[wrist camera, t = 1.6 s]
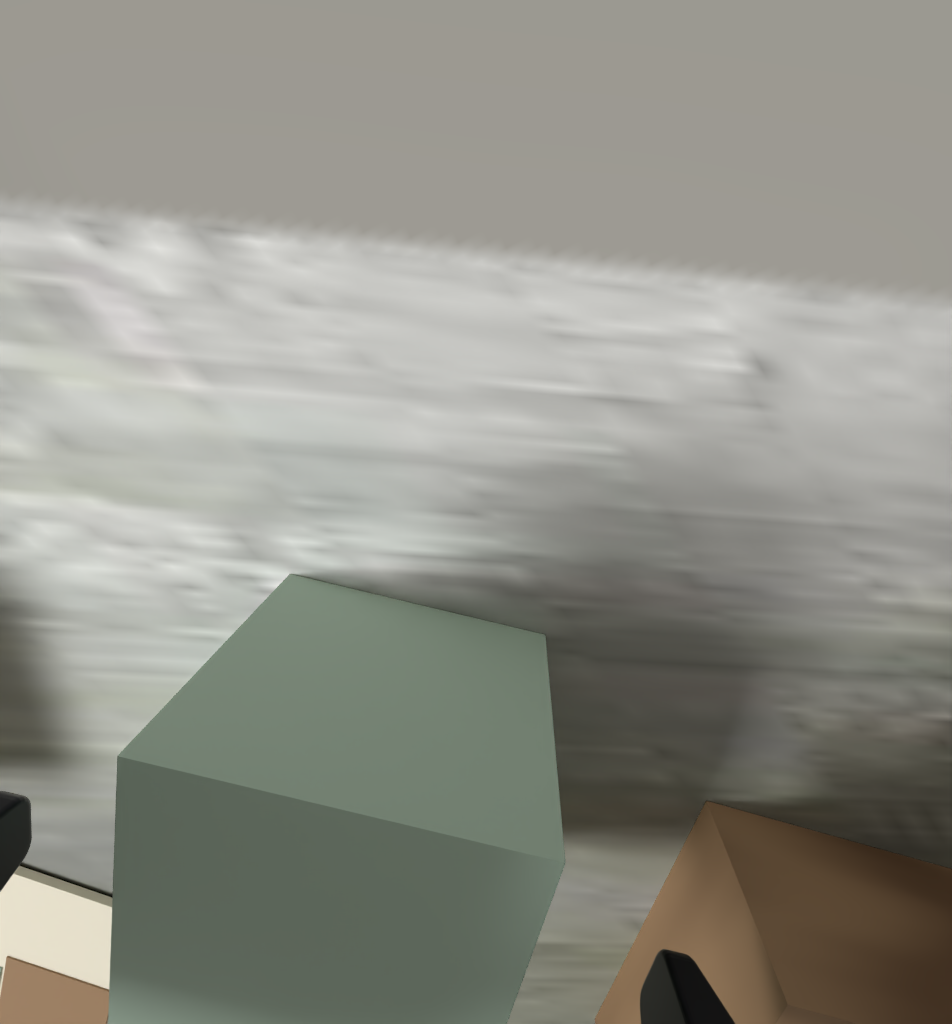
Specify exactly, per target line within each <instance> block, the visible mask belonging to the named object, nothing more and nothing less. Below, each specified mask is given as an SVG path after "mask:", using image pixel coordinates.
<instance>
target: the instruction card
mask: <svg viewBox="0 0 952 1024" xmlns="http://www.w3.org/2000/svg"><path fill="white" fill-rule="evenodd" d="M111 926H112V897H109V896H106V895H103V894H100V893H97V892H94V891H91V890H89V889H86V888H83V887H80V886H77V885H74V884H71V883H68V882H65V881H62V880H59V879H57V878H54V877H51V876H48V875H45V874H42V873H39V872H36V871H33V870H30V869H27V868H25V867H22V866H19V867H18V868H17V869H16V871H15V872H14V874H13V875H12V876H11V878H10V879H9V881H8V882H7V883H6V885H5V886H4V888H3V889H2V890H1V892H0V1024H108V1011H109V983H110V955H111Z"/></svg>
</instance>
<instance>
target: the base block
mask: <svg viewBox="0 0 952 1024" xmlns="http://www.w3.org/2000/svg"><path fill="white" fill-rule="evenodd" d="M662 949H667V950H672V951H676V952H680V953H684V954H687V955H689V956H690V957H691V958H692V959H693V960H694V961H695V962H696V964H697V965H698V967H699V968H700V970H701V971H702V973H703V975H704V976H705V978H706V979H707V981H708V982H709V984H710V985H711V987H712V988H713V990H714V991H715V993H716V995H717V996H718V998H719V999H720V1001H721V1002H722V1004H723V1005H724V1007H725V1008H726V1010H727V1011H728V1013H729V1015H730V1016H731V1018H732V1019H733V1021H734V1022H735V1024H952V869H950V868H946V867H943V866H939V865H936V864H932V863H928V862H925V861H921V860H918V859H914V858H910V857H907V856H903V855H900V854H896V853H892V852H889V851H885V850H882V849H878V848H875V847H871V846H867V845H864V844H860V843H857V842H853V841H849V840H846V839H842V838H839V837H835V836H831V835H828V834H824V833H821V832H817V831H813V830H810V829H806V828H803V827H799V826H795V825H792V824H788V823H785V822H781V821H777V820H774V819H770V818H767V817H763V816H759V815H756V814H752V813H749V812H745V811H741V810H738V809H734V808H731V807H727V806H723V805H720V804H716V803H713V802H709V801H706V802H705V804H704V806H703V808H702V810H701V812H700V814H699V816H698V818H697V820H696V822H695V824H694V826H693V828H692V830H691V832H690V834H689V836H688V838H687V840H686V842H685V843H684V845H683V847H682V849H681V851H680V853H679V855H678V857H677V859H676V861H675V863H674V865H673V867H672V869H671V871H670V873H669V875H668V877H667V879H666V881H665V883H664V885H663V887H662V889H661V891H660V892H659V894H658V896H657V898H656V900H655V902H654V904H653V906H652V908H651V910H650V912H649V914H648V916H647V918H646V920H645V922H644V924H643V926H642V928H641V930H640V932H639V934H638V936H637V938H636V940H635V942H634V943H633V945H632V947H631V949H630V951H629V953H628V955H627V957H626V959H625V961H624V963H623V965H622V967H621V969H620V971H619V973H618V975H617V977H616V979H615V981H614V983H613V985H612V987H611V989H610V991H609V992H608V994H607V996H606V998H605V1000H604V1002H603V1004H602V1006H601V1008H600V1010H599V1012H598V1014H597V1016H596V1018H595V1024H641V1018H640V994H641V989H642V986H643V983H644V981H645V979H646V977H647V975H648V972H649V970H650V968H651V966H652V964H653V961H654V959H655V957H656V955H657V953H658V952H659V951H660V950H662Z"/></svg>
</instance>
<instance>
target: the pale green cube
mask: <svg viewBox="0 0 952 1024" xmlns="http://www.w3.org/2000/svg"><path fill="white" fill-rule="evenodd" d="M564 865H565V852H564V841H563V830H562V818H561V807H560V796H559V785H558V773H557V762H556V751H555V739H554V728H553V717H552V705H551V694H550V683H549V671H548V660H547V649H546V637H545V635H544V634H540V633H535V632H531V631H527V630H523V629H519V628H515V627H510V626H506V625H502V624H498V623H494V622H489V621H485V620H481V619H477V618H473V617H468V616H464V615H460V614H456V613H452V612H448V611H443V610H439V609H435V608H431V607H427V606H422V605H418V604H414V603H410V602H406V601H402V600H397V599H393V598H389V597H385V596H381V595H376V594H372V593H368V592H364V591H360V590H356V589H351V588H347V587H343V586H339V585H335V584H330V583H326V582H322V581H318V580H314V579H309V578H305V577H301V576H297V575H293V574H289V575H288V577H287V578H286V579H285V580H284V581H283V582H282V583H281V584H280V585H279V586H278V587H277V588H276V589H275V590H274V591H273V592H272V593H271V595H270V596H269V597H268V598H267V599H266V600H265V601H264V602H263V603H262V604H261V605H260V606H259V607H258V608H257V609H256V610H255V611H254V612H253V614H252V615H251V616H250V617H249V618H248V619H247V620H246V621H245V622H244V623H243V624H242V625H241V626H240V627H239V628H238V629H237V630H236V631H235V633H234V634H233V635H232V636H231V637H230V638H229V639H228V640H227V641H226V642H225V643H224V644H223V645H222V646H221V647H220V648H219V649H218V651H217V652H216V653H215V654H214V655H213V656H212V657H211V658H210V659H209V660H208V661H207V662H206V663H205V664H204V665H203V666H202V667H201V668H200V670H199V671H198V672H197V673H196V674H195V675H194V676H193V677H192V678H191V679H190V680H189V681H188V682H187V683H186V684H185V685H184V686H183V687H182V689H181V690H180V691H179V692H178V693H177V694H176V695H175V696H174V697H173V698H172V699H171V700H170V701H169V702H168V703H167V704H166V705H165V707H164V708H163V709H162V710H161V711H160V712H159V713H158V714H157V715H156V716H155V717H154V718H153V719H152V720H151V721H150V722H149V723H148V724H147V726H146V727H145V728H144V729H143V730H142V731H141V732H140V733H139V734H138V735H137V736H136V737H135V738H134V739H133V740H132V741H131V742H130V743H129V745H128V746H127V747H126V748H125V749H124V750H123V751H122V752H121V753H120V754H119V755H118V758H117V786H116V814H115V842H114V870H113V898H112V926H111V955H110V983H109V1011H108V1024H507V1021H508V1019H509V1016H510V1013H511V1010H512V1008H513V1005H514V1002H515V999H516V997H517V994H518V991H519V989H520V986H521V983H522V980H523V978H524V975H525V972H526V969H527V967H528V964H529V961H530V958H531V956H532V953H533V950H534V948H535V945H536V942H537V939H538V937H539V934H540V931H541V928H542V926H543V923H544V920H545V917H546V915H547V912H548V909H549V906H550V904H551V901H552V898H553V896H554V893H555V890H556V887H557V885H558V882H559V879H560V876H561V874H562V871H563V868H564Z"/></svg>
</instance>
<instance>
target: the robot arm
mask: <svg viewBox="0 0 952 1024" xmlns="http://www.w3.org/2000/svg"><path fill="white" fill-rule="evenodd" d="M31 838H32V834H31V803H30V800H29V799H28V798H27V797H26V796H22V795H18V794H14V793H10V792H6V791H0V892H1V890H2V889H3V888H4V886H5V885H6V883H7V882H8V881H9V879H10V878H11V876H12V875H13V874H14V872H15V871H16V869H17V868H18V867H19V865H20V864H21V862H22V861H23V859H24V858H25V856H26V854H27V852H28V850H29V847H30V844H31ZM640 1018H641V1024H735V1022H734V1021H733V1019H732V1018H731V1016H730V1015H729V1013H728V1011H727V1010H726V1008H725V1007H724V1005H723V1004H722V1002H721V1001H720V999H719V998H718V996H717V995H716V993H715V991H714V990H713V988H712V987H711V985H710V984H709V982H708V981H707V979H706V978H705V976H704V975H703V973H702V971H701V970H700V968H699V967H698V965H697V964H696V962H695V961H694V960H693V959H692V958H691V957H690V956H689V955H687V954H684V953H680V952H676V951H672V950H667V949H662V950H660V951H659V952H658V953H657V955H656V957H655V959H654V961H653V964H652V966H651V968H650V970H649V972H648V975H647V977H646V979H645V981H644V983H643V986H642V989H641V994H640Z"/></svg>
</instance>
